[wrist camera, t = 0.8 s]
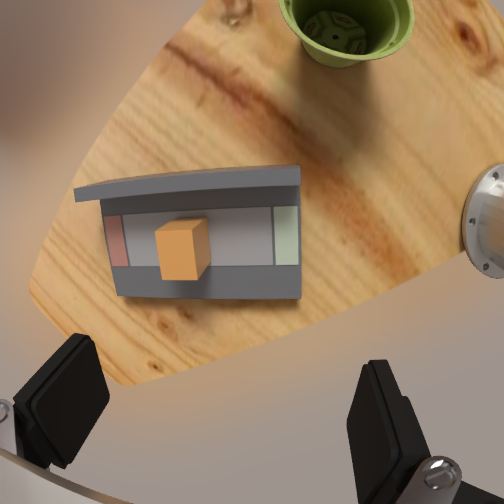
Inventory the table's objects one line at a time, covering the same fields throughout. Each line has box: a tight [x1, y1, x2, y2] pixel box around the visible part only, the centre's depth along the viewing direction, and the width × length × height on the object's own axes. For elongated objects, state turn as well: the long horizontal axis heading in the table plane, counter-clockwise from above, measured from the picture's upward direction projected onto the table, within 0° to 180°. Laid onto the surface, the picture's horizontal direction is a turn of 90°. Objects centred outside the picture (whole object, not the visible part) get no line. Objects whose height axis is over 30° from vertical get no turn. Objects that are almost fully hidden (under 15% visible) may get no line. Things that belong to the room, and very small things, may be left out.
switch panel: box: [74, 165, 301, 299], centre depth 27 cm, size 19×12×6 cm, turn 93°
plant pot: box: [279, 0, 415, 68], centre depth 19 cm, size 9×9×9 cm
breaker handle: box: [155, 217, 211, 280], centre depth 26 cm, size 3×4×4 cm
